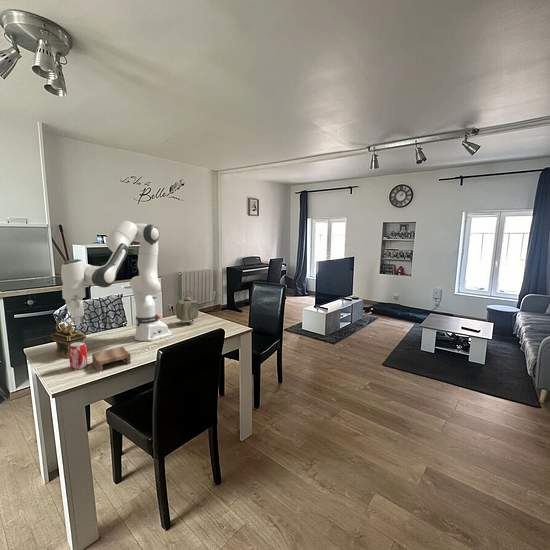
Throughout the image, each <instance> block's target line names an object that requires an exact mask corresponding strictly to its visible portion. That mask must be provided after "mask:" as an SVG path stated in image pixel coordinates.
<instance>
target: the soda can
mask: <svg viewBox="0 0 550 550" xmlns="http://www.w3.org/2000/svg"><path fill="white" fill-rule="evenodd" d="M87 350H88V349H87V345H86V343H85V341H82V342H75V343H72V344H71V345H70V348H69V358H68V360H69V366H70V369H72V370H74V371H78V369H79V370H83V369H84V368H85V367H87V366H88V351H87Z"/></svg>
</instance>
